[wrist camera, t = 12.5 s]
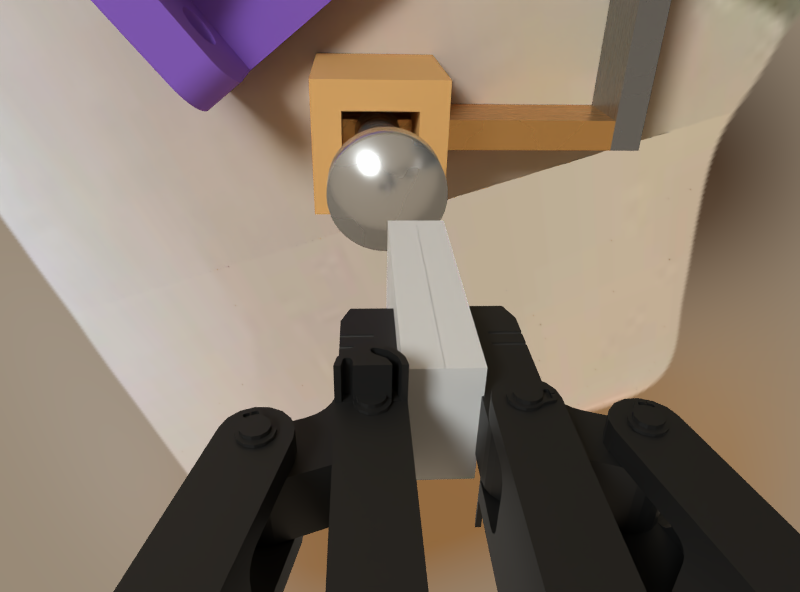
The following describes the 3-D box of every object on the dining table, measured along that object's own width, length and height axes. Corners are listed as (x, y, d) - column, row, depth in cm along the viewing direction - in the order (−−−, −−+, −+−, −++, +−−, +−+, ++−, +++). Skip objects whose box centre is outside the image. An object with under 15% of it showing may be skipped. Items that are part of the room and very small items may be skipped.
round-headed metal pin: (423, 83, 29) (451, 135, 21) (419, 173, 31) (444, 250, 24) (330, 82, 29) (323, 135, 21) (333, 173, 31) (328, 251, 23)
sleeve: (432, 54, 32) (452, 80, 26) (427, 167, 35) (443, 213, 29) (316, 53, 32) (308, 78, 25) (320, 166, 34) (314, 214, 28)
